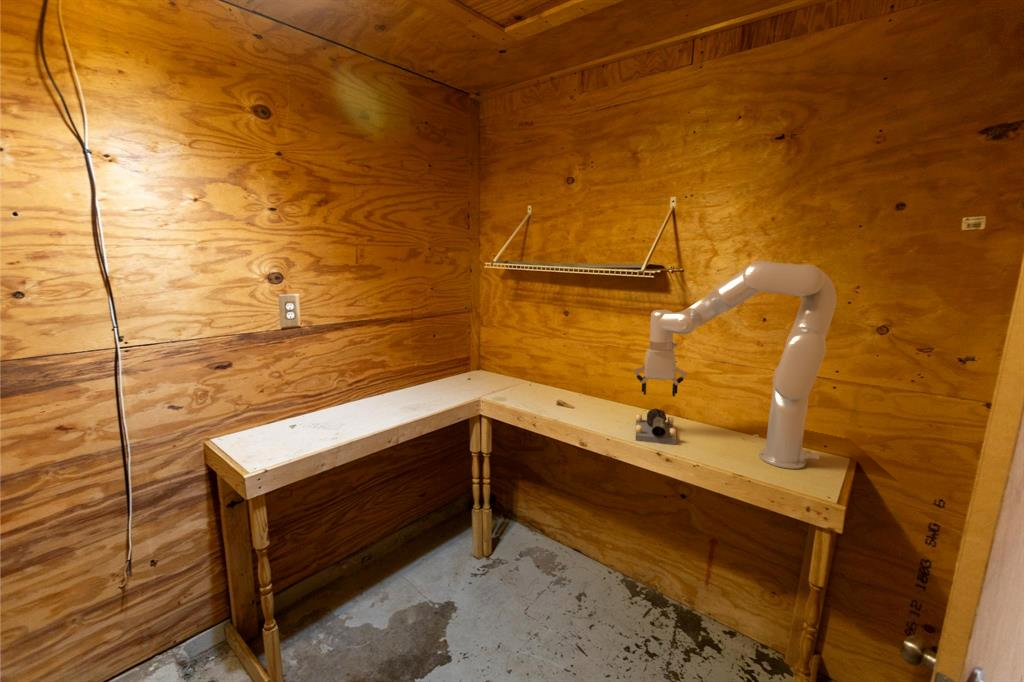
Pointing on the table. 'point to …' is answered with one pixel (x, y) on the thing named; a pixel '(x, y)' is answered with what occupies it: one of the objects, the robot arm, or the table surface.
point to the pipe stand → (646, 432)
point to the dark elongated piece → (657, 422)
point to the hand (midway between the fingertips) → (659, 394)
